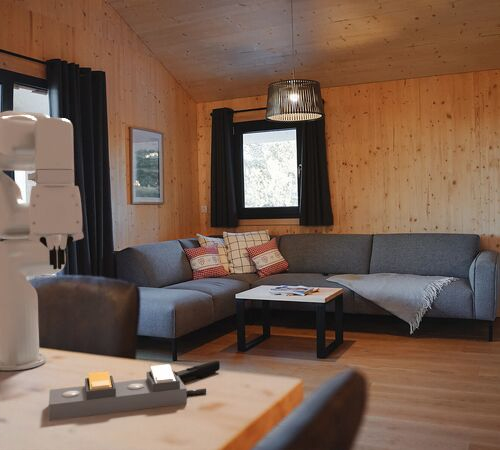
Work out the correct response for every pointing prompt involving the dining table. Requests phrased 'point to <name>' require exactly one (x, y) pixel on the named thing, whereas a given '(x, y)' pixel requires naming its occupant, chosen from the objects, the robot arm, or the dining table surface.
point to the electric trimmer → (198, 371)
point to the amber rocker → (99, 380)
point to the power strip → (117, 397)
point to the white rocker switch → (162, 373)
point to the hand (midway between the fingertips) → (57, 268)
